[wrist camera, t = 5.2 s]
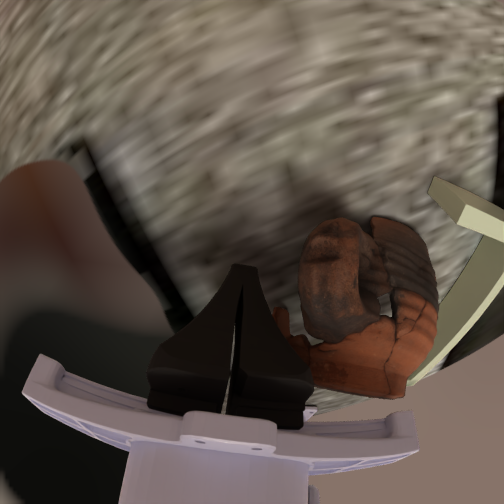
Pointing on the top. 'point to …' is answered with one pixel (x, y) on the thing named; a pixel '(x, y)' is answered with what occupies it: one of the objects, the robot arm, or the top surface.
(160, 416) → the robot arm
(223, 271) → the top surface
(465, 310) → the tray
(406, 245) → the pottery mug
